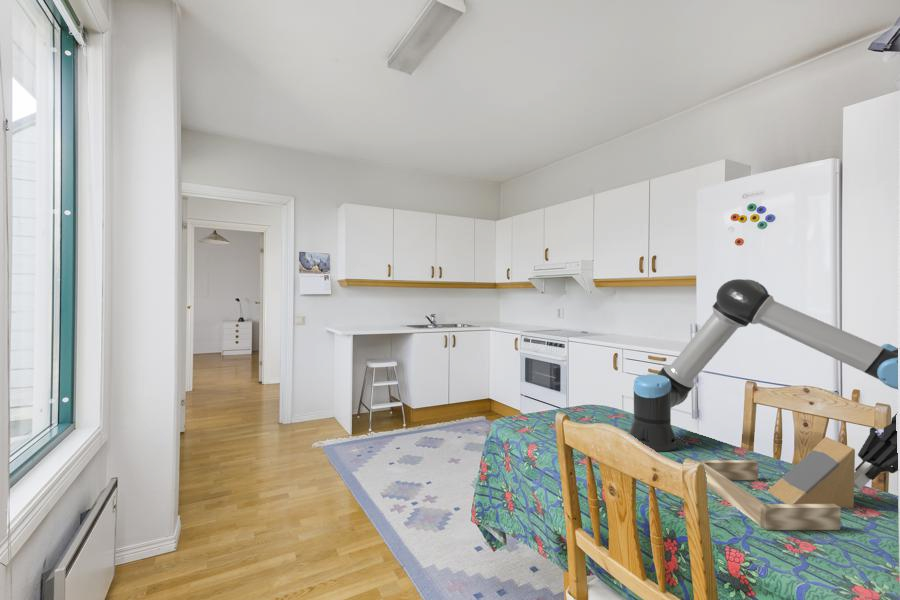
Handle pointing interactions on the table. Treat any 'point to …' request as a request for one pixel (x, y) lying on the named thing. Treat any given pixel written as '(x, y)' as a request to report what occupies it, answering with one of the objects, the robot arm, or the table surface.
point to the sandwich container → (820, 477)
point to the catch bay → (759, 511)
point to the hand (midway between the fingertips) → (854, 484)
